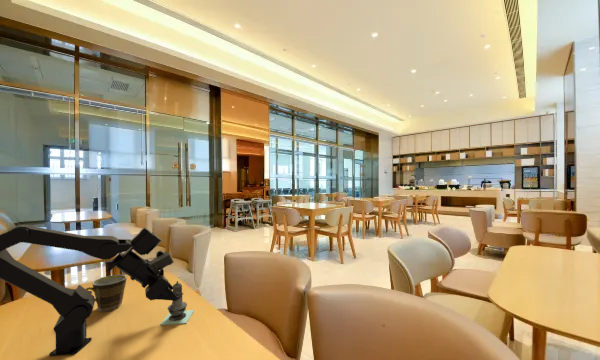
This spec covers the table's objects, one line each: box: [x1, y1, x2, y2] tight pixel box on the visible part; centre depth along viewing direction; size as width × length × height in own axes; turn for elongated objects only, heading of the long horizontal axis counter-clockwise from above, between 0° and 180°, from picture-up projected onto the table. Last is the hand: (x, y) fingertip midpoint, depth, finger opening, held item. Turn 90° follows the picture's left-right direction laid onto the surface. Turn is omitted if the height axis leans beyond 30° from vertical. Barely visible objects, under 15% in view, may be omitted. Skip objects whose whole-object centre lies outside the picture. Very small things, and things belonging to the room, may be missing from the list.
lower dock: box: [160, 309, 195, 326], centre depth 85 cm, size 8×8×1 cm
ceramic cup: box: [85, 274, 127, 312], centre depth 92 cm, size 13×10×10 cm
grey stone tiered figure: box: [167, 280, 188, 321], centre depth 85 cm, size 6×6×12 cm
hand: (174, 293), depth 85 cm, fingers open, 9 cm apart
